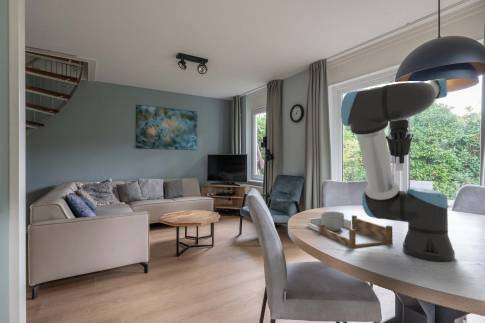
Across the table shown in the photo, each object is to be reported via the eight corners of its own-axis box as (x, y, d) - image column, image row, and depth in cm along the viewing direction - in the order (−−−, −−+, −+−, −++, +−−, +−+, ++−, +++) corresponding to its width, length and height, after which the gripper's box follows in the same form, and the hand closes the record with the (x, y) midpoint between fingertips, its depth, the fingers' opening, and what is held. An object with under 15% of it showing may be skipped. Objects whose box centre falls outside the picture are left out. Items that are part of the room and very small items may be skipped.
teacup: (347, 232, 119) (347, 215, 119) (324, 232, 120) (324, 215, 120) (337, 225, 133) (337, 210, 133) (316, 225, 134) (316, 210, 134)
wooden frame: (392, 243, 103) (392, 226, 103) (352, 248, 98) (352, 230, 98) (354, 229, 124) (354, 215, 124) (319, 232, 119) (319, 218, 119)
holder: (351, 228, 126) (351, 220, 126) (317, 231, 121) (317, 223, 121) (337, 223, 136) (337, 216, 136) (306, 226, 131) (306, 218, 131)
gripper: (418, 118, 113) (418, 170, 113) (393, 122, 126) (393, 169, 126) (405, 117, 111) (406, 171, 111) (381, 122, 124) (381, 170, 124)
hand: (399, 170), depth 119 cm, fingers closed
